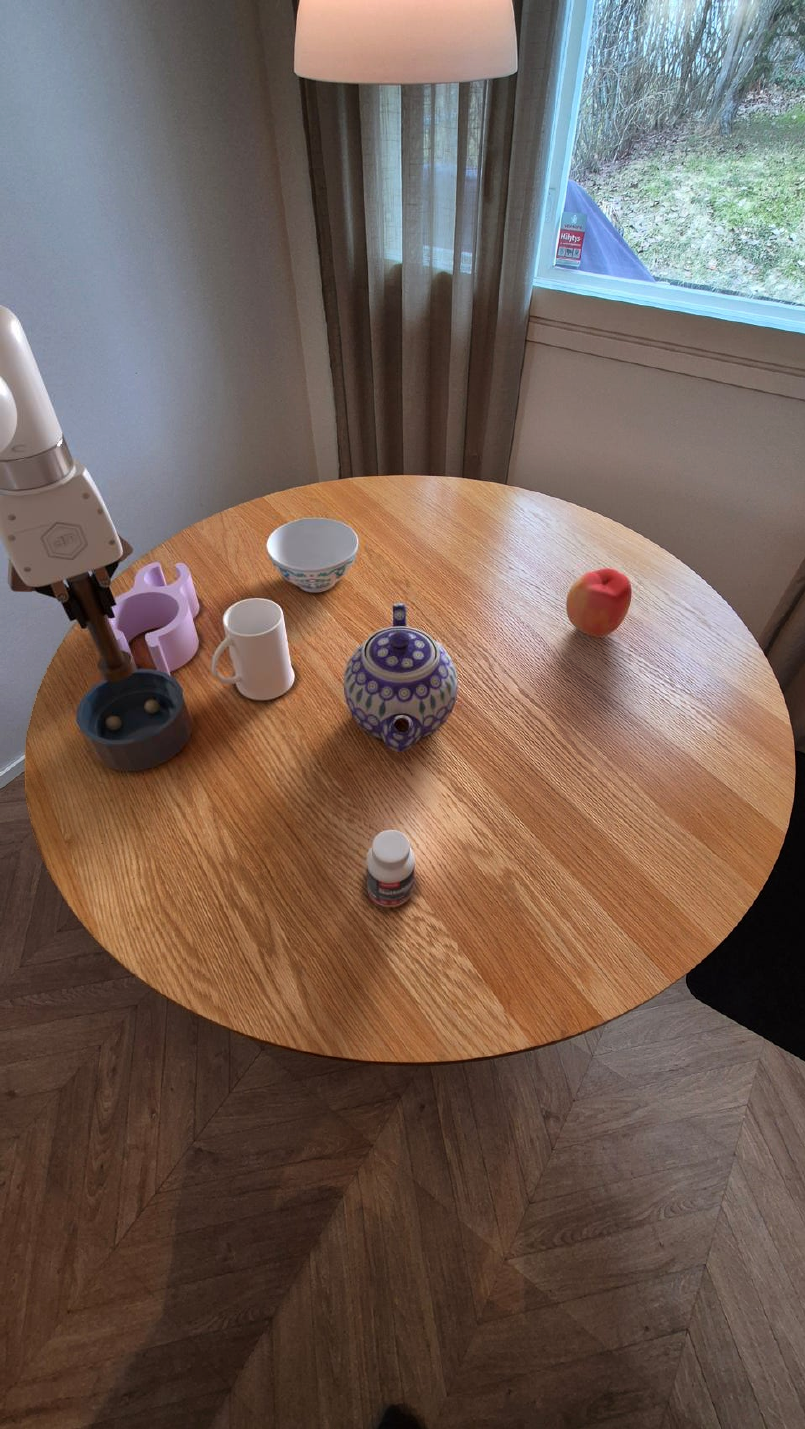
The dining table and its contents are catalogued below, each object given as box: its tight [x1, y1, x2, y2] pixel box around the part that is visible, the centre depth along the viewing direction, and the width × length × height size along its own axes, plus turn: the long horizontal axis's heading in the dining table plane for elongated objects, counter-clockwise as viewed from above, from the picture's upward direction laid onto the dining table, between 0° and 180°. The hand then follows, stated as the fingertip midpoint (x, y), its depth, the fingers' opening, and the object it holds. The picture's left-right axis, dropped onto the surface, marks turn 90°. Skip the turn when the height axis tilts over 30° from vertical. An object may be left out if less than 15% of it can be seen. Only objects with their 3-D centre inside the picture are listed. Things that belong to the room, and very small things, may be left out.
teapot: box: [343, 602, 459, 753], centre depth 88 cm, size 25×15×15 cm, turn 178°
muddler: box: [65, 572, 135, 682], centre depth 75 cm, size 4×4×14 cm
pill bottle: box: [365, 829, 416, 908], centre depth 72 cm, size 5×5×9 cm
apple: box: [565, 567, 633, 638], centre depth 102 cm, size 10×10×10 cm
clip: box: [107, 561, 200, 676], centre depth 101 cm, size 20×12×7 cm, turn 178°
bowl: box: [75, 668, 194, 772], centre depth 88 cm, size 13×13×6 cm
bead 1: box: [106, 716, 122, 730], centre depth 90 cm, size 2×2×2 cm
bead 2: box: [144, 699, 160, 714], centre depth 92 cm, size 2×2×2 cm
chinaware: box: [265, 517, 359, 593], centre depth 111 cm, size 15×15×8 cm
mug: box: [211, 597, 295, 701], centre depth 93 cm, size 12×8×12 cm
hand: (94, 615), depth 74 cm, fingers closed on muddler, 2 cm apart
